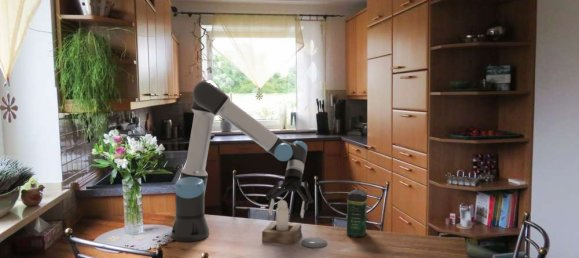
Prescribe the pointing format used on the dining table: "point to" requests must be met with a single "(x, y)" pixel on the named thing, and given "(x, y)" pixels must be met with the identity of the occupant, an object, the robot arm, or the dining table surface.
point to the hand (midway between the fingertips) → (285, 215)
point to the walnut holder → (281, 233)
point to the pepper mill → (282, 216)
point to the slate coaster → (314, 242)
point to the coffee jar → (356, 213)
